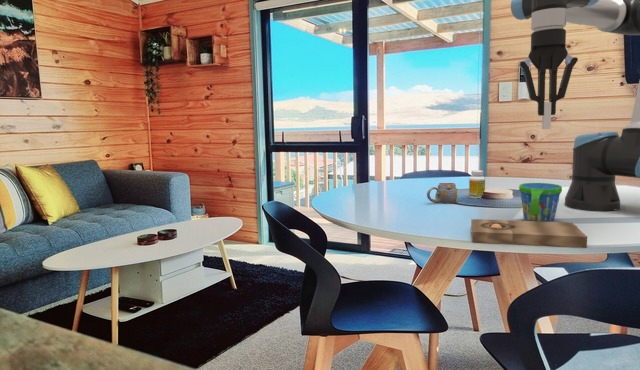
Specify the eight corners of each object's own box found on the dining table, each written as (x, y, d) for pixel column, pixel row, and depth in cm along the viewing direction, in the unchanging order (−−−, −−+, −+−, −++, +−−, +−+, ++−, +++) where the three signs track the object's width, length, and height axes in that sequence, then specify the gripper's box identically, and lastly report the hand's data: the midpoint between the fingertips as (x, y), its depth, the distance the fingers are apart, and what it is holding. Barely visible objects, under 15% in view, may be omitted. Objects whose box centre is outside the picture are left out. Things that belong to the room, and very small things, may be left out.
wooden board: (572, 232, 115) (572, 222, 114) (586, 247, 102) (587, 236, 101) (471, 228, 122) (471, 218, 121) (472, 242, 108) (472, 231, 108)
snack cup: (552, 230, 118) (553, 190, 116) (509, 224, 124) (510, 187, 123) (566, 218, 129) (568, 183, 128) (527, 214, 136) (528, 180, 135)
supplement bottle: (478, 199, 163) (479, 172, 161) (465, 197, 167) (466, 170, 165) (487, 197, 166) (488, 170, 164) (474, 195, 170) (475, 169, 169)
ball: (491, 226, 116) (488, 236, 115) (491, 220, 114) (488, 231, 112) (503, 228, 114) (501, 239, 113) (503, 223, 112) (501, 233, 111)
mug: (448, 199, 164) (448, 181, 163) (461, 202, 158) (461, 183, 157) (420, 203, 159) (420, 184, 158) (432, 206, 153) (432, 186, 152)
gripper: (574, 29, 112) (571, 126, 116) (516, 35, 115) (515, 129, 119) (583, 24, 105) (579, 128, 108) (521, 30, 108) (520, 130, 112)
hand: (546, 128), depth 114 cm, fingers closed
